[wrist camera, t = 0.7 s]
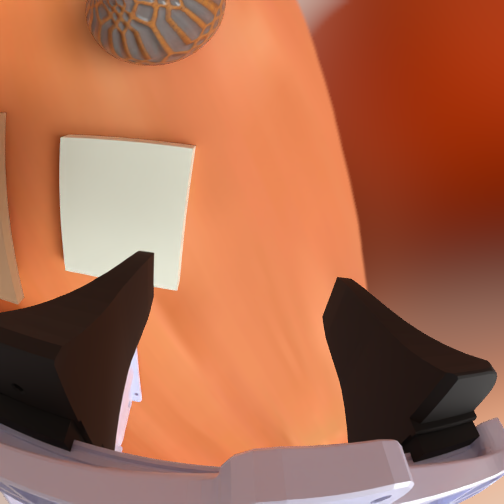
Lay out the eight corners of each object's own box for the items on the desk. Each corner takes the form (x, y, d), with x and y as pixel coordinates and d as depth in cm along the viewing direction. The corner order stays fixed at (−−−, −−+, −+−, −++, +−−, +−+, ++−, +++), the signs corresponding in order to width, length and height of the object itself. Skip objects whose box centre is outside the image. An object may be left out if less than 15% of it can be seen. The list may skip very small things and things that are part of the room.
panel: (180, 277, 23) (176, 290, 22) (74, 258, 22) (65, 270, 21) (196, 144, 19) (193, 148, 17) (72, 133, 18) (60, 137, 16)
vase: (138, -29, 12) (84, -86, 4) (242, -15, 13) (246, -85, 6) (106, 63, 15) (25, 51, 7) (208, 80, 16) (184, 64, 9)
